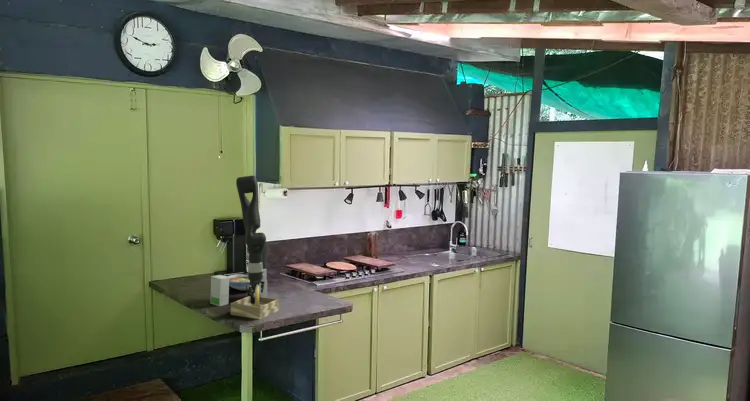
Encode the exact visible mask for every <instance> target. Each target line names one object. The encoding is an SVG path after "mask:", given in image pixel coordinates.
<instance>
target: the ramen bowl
mask: <svg viewBox="0 0 750 401" xmlns="http://www.w3.org/2000/svg"><path fill="white" fill-rule="evenodd" d="M227 277H229V287H231V288H232V289H235V290H237V291H244V292H245V291H246V292H247V290H246V286H249V284H250V280H249V279H248V273H241V272H236V273H235V274H230V275H227ZM267 278H269V276H268V275H267Z"/></svg>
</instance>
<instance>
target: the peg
mask: <svg viewBox="0 0 750 401" xmlns="http://www.w3.org/2000/svg"><path fill="white" fill-rule="evenodd" d="M252 291H254V290H252ZM252 293H253V292H252ZM252 306H257V307H259V285H258V287H257V291H256V293H255V304H252Z"/></svg>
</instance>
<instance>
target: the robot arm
mask: <svg viewBox="0 0 750 401" xmlns="http://www.w3.org/2000/svg"><path fill="white" fill-rule="evenodd" d="M257 179H258V178H257V177H256V175H249V176H248V175H246V176H244V175H243V176H240V177H239V176H238V177H236V181H235V182H236V183H235V185H236V190H237V194H238V198H239V202H240V207H241V216H242V221H243V225H244V229H245V230H244V231H245V238H244V241H245V242H244V243H245V245H246V248H247V253H248V266H247V274H248V279H249V280H250V284H249V286H246V293H247V297H248V296H250V297H251V304H255V293H256V291H257V287H258V285H259V302H260V297H267V298H268V280H267V276H268V275H267V269H268V268H267V267H268V252H269V251H268V249H269V248H268V243H267V237H266V234H265V233H264V232H257V230H259V229H260V228H261V215H260V211H259V202H260V201H259V199H260V198H259V184H258V180H257ZM246 194H252V197H251V200H249V198H248V197H247V195H246ZM252 290H254V291H252ZM252 292H253V293H252Z"/></svg>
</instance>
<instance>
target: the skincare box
mask: <svg viewBox="0 0 750 401" xmlns="http://www.w3.org/2000/svg"><path fill="white" fill-rule="evenodd" d="M227 276H228V275H227ZM227 276H226V275H222V274H217V275H211V276H210V304H211V305H213V306H218V307H222V306H226V305H229V299H230V298H229V297H230V296H229V295H230V293H229V292H230V286H229V277H227Z"/></svg>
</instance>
